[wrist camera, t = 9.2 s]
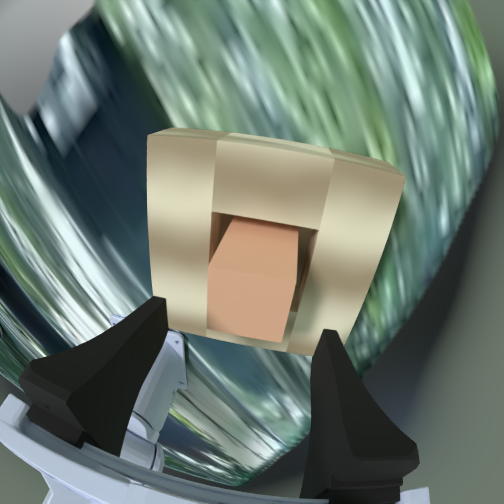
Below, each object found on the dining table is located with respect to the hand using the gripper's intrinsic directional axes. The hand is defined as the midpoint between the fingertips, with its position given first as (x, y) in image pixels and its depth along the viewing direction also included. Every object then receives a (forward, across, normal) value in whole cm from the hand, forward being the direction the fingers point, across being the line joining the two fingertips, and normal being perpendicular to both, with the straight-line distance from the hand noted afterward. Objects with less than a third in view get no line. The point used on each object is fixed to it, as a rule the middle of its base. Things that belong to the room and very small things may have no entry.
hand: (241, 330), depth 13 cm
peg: (+8, 0, 0) cm, 8 cm away
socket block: (+9, 0, 0) cm, 9 cm away
